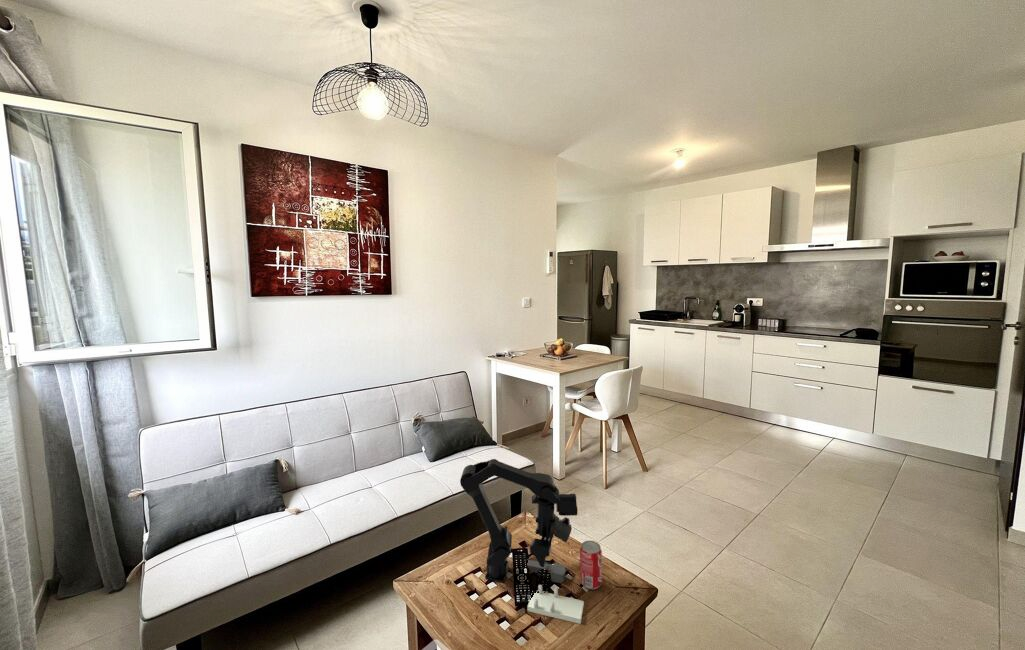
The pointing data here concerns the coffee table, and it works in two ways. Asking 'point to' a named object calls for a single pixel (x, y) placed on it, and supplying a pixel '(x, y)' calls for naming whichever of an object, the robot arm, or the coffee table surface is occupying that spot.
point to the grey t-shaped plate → (555, 570)
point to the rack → (556, 606)
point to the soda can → (591, 565)
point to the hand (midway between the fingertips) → (545, 557)
